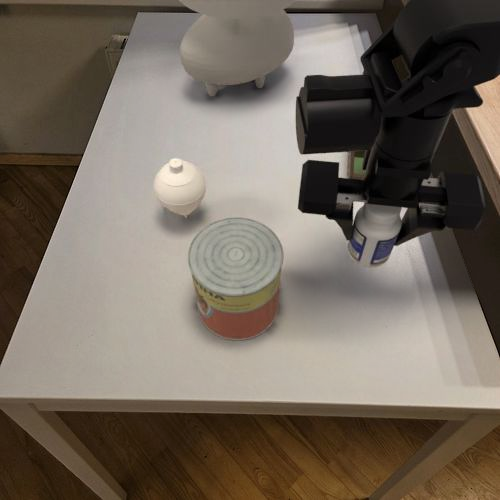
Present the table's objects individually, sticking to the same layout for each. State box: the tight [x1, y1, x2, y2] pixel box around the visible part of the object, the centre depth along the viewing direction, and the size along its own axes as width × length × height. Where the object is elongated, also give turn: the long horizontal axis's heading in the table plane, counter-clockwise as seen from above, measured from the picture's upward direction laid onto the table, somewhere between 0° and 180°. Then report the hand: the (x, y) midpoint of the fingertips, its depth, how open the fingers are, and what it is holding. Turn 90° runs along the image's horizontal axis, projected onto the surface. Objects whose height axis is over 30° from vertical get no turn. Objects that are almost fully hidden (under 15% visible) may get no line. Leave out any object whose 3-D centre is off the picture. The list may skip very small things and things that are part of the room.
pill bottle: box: [347, 202, 403, 268], centre depth 53 cm, size 5×5×9 cm
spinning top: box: [153, 157, 207, 219], centre depth 67 cm, size 8×8×12 cm
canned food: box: [187, 217, 284, 342], centre depth 58 cm, size 11×11×12 cm
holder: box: [346, 150, 366, 180], centre depth 78 cm, size 8×15×3 cm, turn 171°
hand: (371, 240), depth 55 cm, fingers closed on pill bottle, 5 cm apart
